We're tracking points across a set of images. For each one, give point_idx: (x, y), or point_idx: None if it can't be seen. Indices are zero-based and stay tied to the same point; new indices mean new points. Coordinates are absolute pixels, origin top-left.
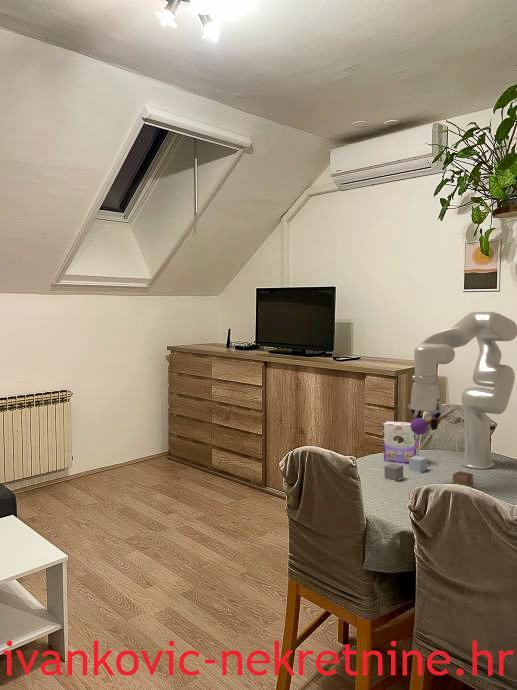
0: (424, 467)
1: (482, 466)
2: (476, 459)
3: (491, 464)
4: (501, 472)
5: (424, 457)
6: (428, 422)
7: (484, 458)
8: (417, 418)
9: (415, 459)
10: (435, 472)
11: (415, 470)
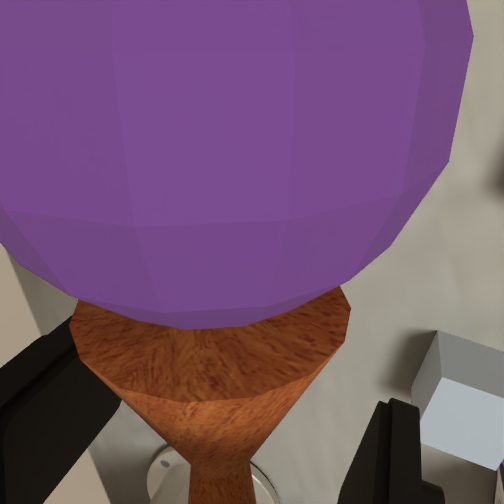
0: (421, 378)
1: (171, 453)
2: (186, 486)
3: (151, 482)
4: (107, 423)
5: (429, 443)
6: (191, 500)
7: (156, 495)
8: (68, 19)
9: (480, 392)
10: (356, 357)
11: (472, 345)
